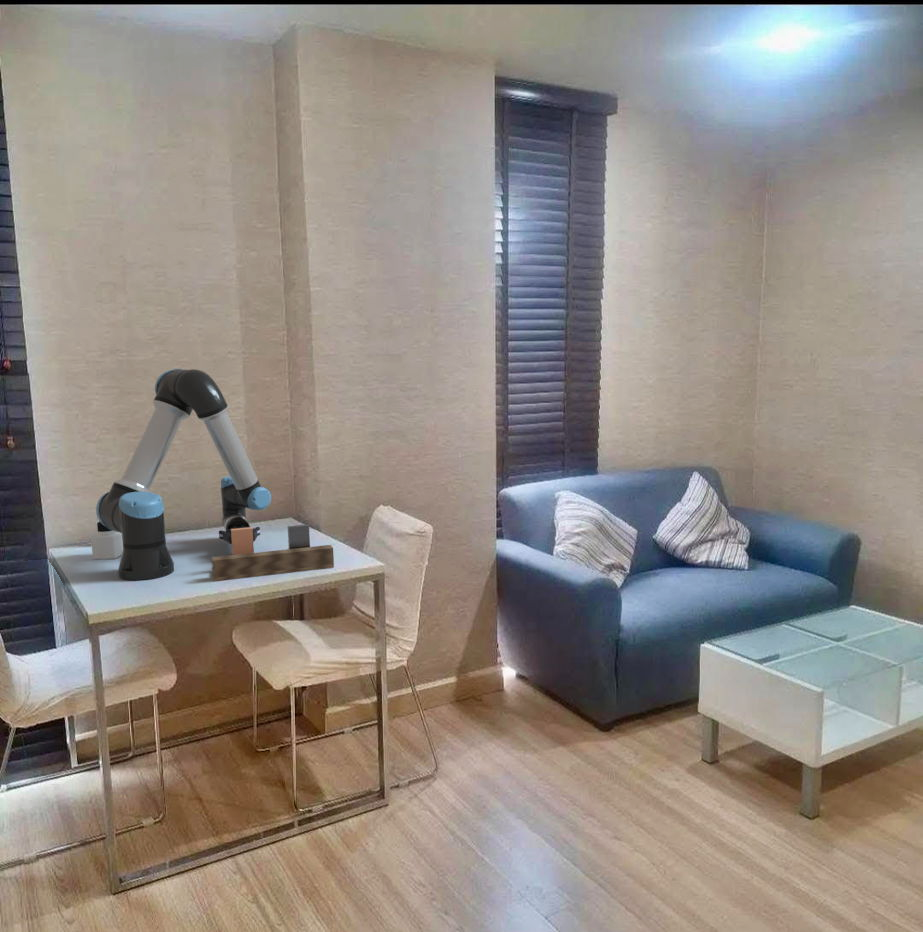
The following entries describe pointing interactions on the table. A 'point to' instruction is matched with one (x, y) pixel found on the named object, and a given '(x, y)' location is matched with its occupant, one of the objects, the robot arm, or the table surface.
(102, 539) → the medicine bottle
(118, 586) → the table surface
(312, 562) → the brown piece
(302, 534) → the grey rectangular slab
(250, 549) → the terracotta key
